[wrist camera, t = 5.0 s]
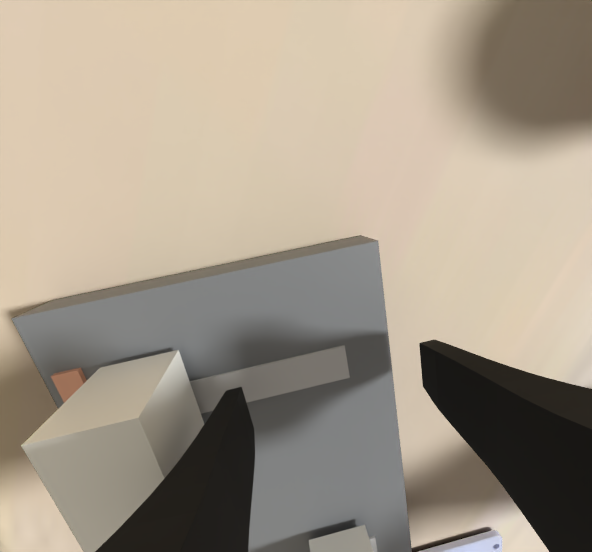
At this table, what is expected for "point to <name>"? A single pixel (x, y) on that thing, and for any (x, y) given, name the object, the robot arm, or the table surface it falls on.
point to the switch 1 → (115, 443)
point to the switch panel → (264, 377)
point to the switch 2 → (343, 541)
